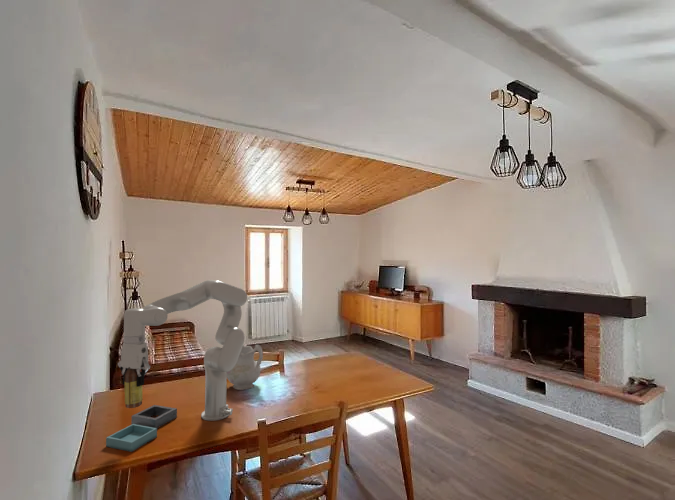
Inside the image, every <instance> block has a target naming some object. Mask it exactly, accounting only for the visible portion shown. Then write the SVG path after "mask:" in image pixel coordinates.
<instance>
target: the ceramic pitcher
mask: <svg viewBox="0 0 675 500" xmlns="http://www.w3.org/2000/svg"><path fill="white" fill-rule="evenodd" d="M256 352H258V354H259V357H258V359H257V361H255V353H256ZM263 355H264V353H263V348H262V346H261V344H258V343H257V344H254V347H252V346H251V345H244V344H243V347H242V349H241V352H240V355H239V357H238V360H237V362H236V364H235V366H234V368H233V369H232V370H230V371H229V372H226V374H227V380H228V382H229V383H231V384H232V385H233V386H232V388H233V389H235V390H237V391H242V390H244V391H245V390H249V389H250V390H251V389H252V388H255V385H254V383H256V382H257V380H258V379H259V377H260V375H261V364H262V361H263V359H264V356H263Z"/></svg>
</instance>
